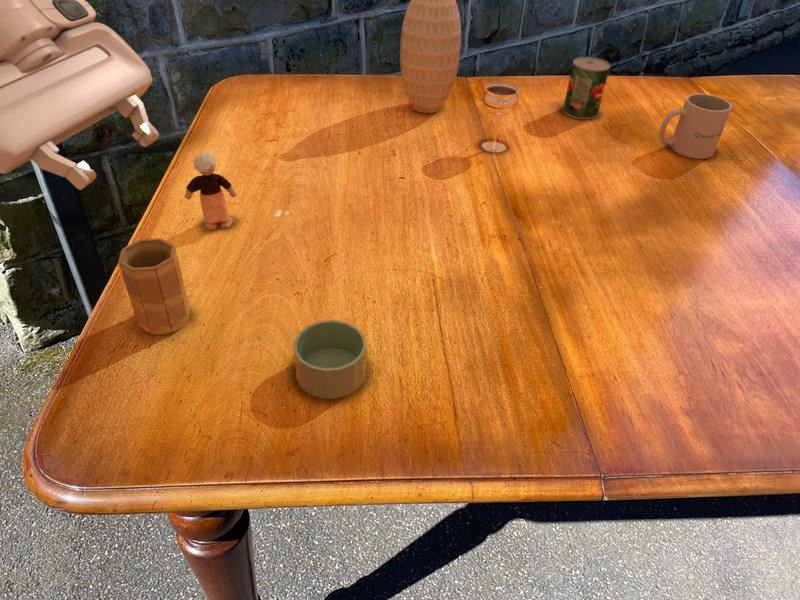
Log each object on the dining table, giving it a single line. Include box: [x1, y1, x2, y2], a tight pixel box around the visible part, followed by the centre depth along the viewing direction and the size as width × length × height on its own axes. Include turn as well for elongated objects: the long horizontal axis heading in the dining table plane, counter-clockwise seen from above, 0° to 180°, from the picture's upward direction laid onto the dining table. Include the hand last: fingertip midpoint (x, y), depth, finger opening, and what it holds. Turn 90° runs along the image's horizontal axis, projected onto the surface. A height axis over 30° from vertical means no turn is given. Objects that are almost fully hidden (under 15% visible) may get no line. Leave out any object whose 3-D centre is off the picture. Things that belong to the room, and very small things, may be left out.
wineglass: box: [481, 81, 521, 153], centre depth 125 cm, size 7×7×12 cm
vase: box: [399, 0, 462, 114], centre depth 133 cm, size 13×13×28 cm
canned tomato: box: [562, 56, 611, 120], centre depth 140 cm, size 8×8×11 cm
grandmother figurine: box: [184, 151, 238, 231], centre depth 99 cm, size 8×4×13 cm, turn 115°
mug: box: [659, 93, 733, 160], centre depth 128 cm, size 12×9×10 cm
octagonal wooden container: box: [118, 237, 190, 336], centre depth 82 cm, size 6×6×11 cm
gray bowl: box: [292, 319, 367, 400], centre depth 77 cm, size 9×9×5 cm
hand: (122, 161), depth 62 cm, fingers open, 8 cm apart
